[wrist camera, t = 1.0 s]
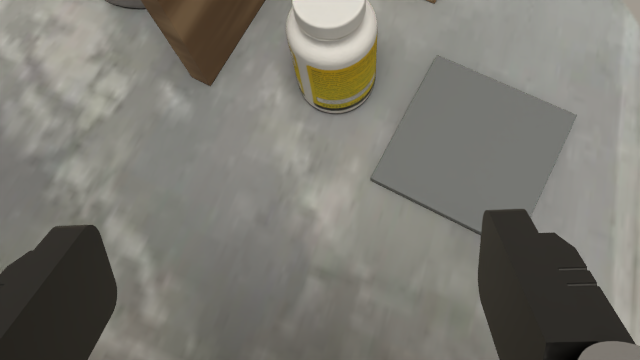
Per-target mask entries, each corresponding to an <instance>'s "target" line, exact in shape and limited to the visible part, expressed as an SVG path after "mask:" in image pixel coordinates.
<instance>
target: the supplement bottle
mask: <svg viewBox="0 0 640 360" xmlns="http://www.w3.org/2000/svg"><path fill="white" fill-rule="evenodd" d="M292 5H293V7H292V8H291V10H290V12H289V15H288V18H287V23H286V34H287V40H288V44H289V48H290V51H291V56H292V60H293V64H294V68H295V72H296V76H297V80H298V84H299V87H300V90H301V92H302V95H303V96H304V98H305V99H306V100H307V101H308V102H309V103H310V104H311V105H312V106H314V107H315V108H317V109H319V110H321V111H324V112H328V113H343V112H347V111H350V110H353V109H355V108H357V107H358V106H360V105H361V104H362V103H363V102H364V101H365V100H366V99H367V98H368V96H369V95H370V93H371V91H372V89H373V86H374V82H375V74H376V49H377V19H376V15H375V12H374V10H373V8H372V6H371V4H370V3H369V1H368V0H292Z"/></svg>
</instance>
